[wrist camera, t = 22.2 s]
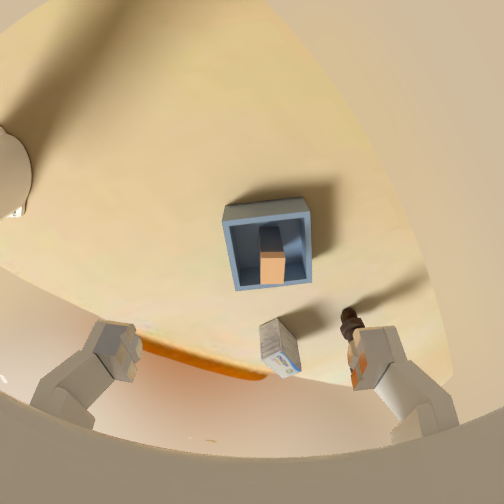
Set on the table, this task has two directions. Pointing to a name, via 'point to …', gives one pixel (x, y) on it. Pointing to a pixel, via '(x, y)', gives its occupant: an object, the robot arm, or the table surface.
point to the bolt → (350, 324)
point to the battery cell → (271, 255)
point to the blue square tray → (247, 240)
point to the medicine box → (279, 349)
